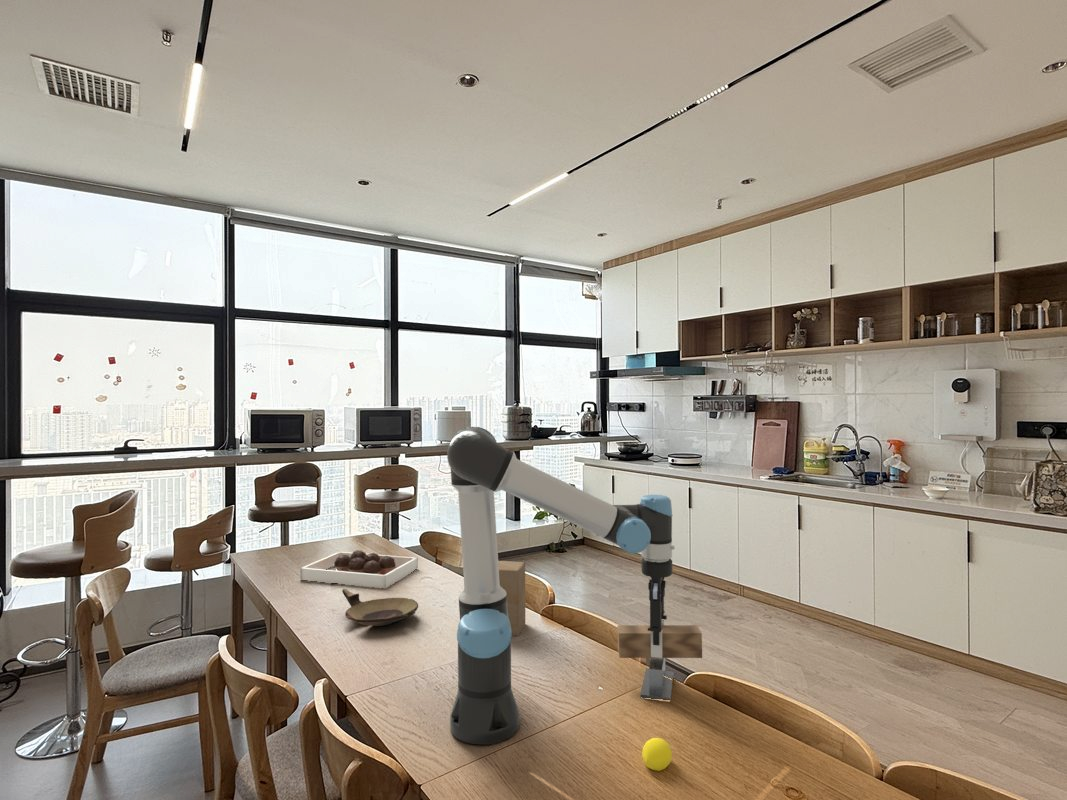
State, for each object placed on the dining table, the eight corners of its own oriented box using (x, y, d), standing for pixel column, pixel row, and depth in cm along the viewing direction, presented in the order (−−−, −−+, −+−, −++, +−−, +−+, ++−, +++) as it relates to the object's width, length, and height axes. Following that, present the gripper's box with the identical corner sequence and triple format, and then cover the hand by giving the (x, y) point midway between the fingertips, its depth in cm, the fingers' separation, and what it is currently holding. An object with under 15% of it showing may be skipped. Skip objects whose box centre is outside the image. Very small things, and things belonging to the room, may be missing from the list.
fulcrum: (670, 702, 137) (670, 673, 137) (640, 698, 139) (640, 669, 139) (673, 675, 150) (673, 648, 150) (646, 672, 152) (645, 645, 152)
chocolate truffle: (325, 575, 240) (325, 555, 240) (357, 565, 254) (357, 546, 253) (372, 587, 224) (372, 565, 224) (404, 576, 238) (403, 555, 238)
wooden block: (518, 637, 175) (518, 570, 175) (486, 634, 177) (486, 569, 177) (525, 624, 185) (525, 561, 185) (495, 622, 187) (495, 560, 187)
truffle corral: (385, 589, 221) (385, 575, 221) (300, 580, 231) (300, 568, 231) (417, 569, 245) (417, 557, 245) (339, 562, 256) (339, 551, 256)
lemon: (659, 782, 109) (658, 753, 109) (635, 769, 113) (635, 741, 113) (679, 765, 114) (679, 738, 114) (655, 754, 117) (655, 727, 117)
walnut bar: (697, 649, 146) (697, 625, 146) (702, 657, 142) (701, 633, 141) (617, 649, 148) (617, 625, 148) (619, 657, 143) (618, 633, 143)
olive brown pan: (363, 643, 172) (363, 617, 172) (329, 614, 196) (329, 591, 196) (431, 625, 185) (431, 601, 185) (392, 599, 209) (392, 578, 209)
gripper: (670, 570, 135) (671, 670, 135) (674, 549, 153) (675, 637, 153) (637, 567, 137) (638, 666, 137) (645, 547, 155) (646, 634, 155)
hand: (657, 651), depth 145 cm, fingers closed on walnut bar, 6 cm apart
